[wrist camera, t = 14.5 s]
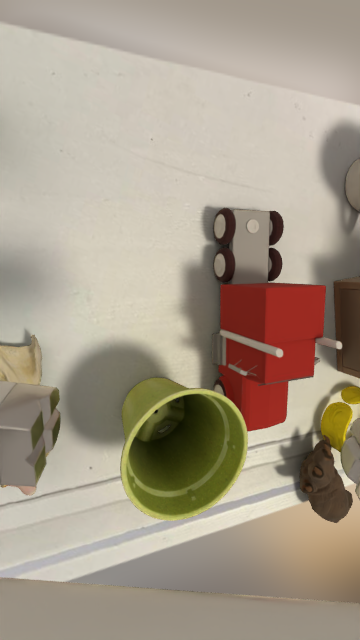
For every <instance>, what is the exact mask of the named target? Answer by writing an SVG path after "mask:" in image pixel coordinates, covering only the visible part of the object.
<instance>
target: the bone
mask: <svg viewBox="0 0 360 640" xmlns="http://www.w3.org/2000/svg"><path fill="white" fill-rule="evenodd" d="M31 338H32V343H31V345H29V346H23V347H14V346H0V381H7V382H15V383H25V384H33V385H40V381H41V376H42V368H41V360H42V355H41V349H40V346H39V344H38V341H37V339H36V337H35V335H31ZM49 452H50V451H49ZM49 452H48V453H47V454H46V457H47V455H48V454H49ZM6 486H8V485H1V487H6Z"/></svg>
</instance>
